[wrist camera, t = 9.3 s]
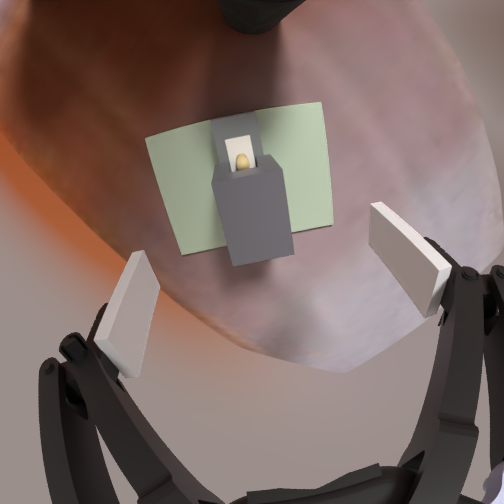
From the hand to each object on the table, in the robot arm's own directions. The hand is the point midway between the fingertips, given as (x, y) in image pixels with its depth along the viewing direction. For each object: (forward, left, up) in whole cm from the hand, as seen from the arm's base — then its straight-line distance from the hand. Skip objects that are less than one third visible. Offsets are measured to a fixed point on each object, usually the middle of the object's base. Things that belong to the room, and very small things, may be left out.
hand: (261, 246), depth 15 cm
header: (0, 0, -15) cm, 15 cm away
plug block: (+1, 0, -11) cm, 11 cm away
